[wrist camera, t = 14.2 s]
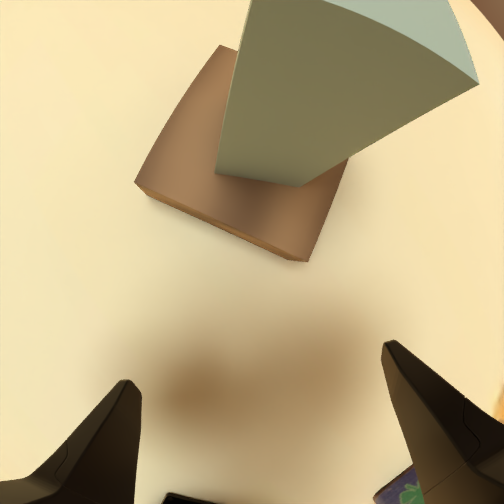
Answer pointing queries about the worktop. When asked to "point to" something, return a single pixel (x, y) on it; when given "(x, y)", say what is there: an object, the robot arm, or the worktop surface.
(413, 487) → the flask
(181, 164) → the base brick
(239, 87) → the tall block
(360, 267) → the worktop surface
